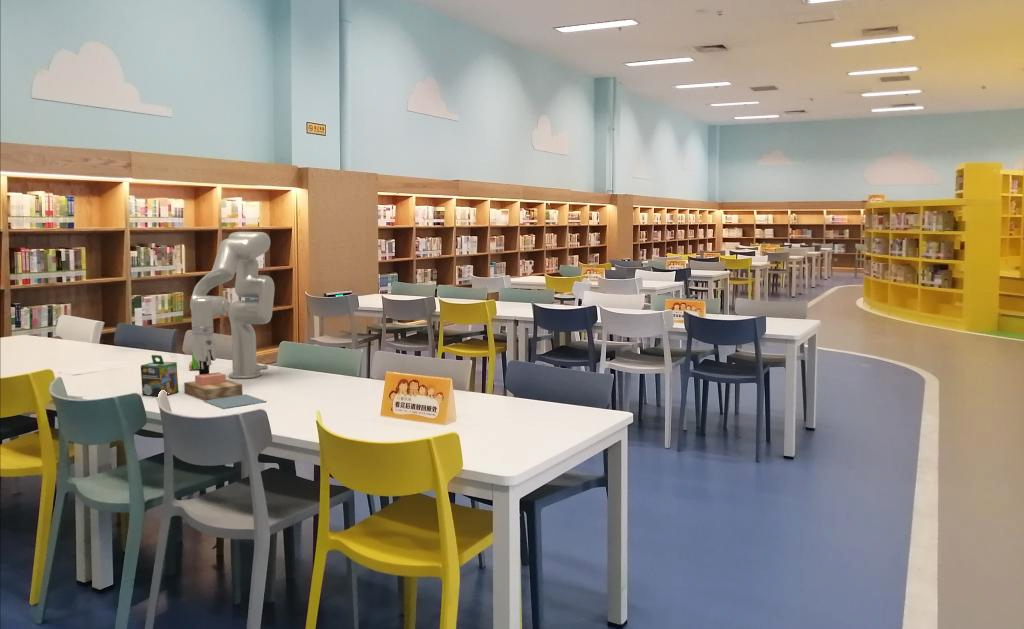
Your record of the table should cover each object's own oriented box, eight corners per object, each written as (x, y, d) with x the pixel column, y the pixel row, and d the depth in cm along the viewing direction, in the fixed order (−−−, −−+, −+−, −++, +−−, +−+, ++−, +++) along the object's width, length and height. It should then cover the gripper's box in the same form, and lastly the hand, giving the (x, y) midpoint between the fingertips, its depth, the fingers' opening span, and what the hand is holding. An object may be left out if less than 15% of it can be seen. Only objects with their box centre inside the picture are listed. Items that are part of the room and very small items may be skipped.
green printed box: (179, 392, 299) (177, 353, 298) (161, 397, 291) (159, 357, 289) (159, 390, 302) (157, 352, 301) (141, 395, 294) (139, 355, 292)
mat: (245, 395, 295) (245, 394, 295) (266, 402, 284) (266, 401, 284) (203, 401, 284) (203, 400, 284) (223, 409, 273) (223, 408, 273)
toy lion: (201, 370, 343) (200, 336, 341) (188, 371, 342) (187, 336, 341) (211, 364, 359) (210, 331, 357) (198, 364, 358) (197, 331, 356)
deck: (220, 387, 308) (220, 377, 307) (242, 395, 295) (242, 384, 295) (184, 393, 298) (184, 382, 297) (205, 400, 285) (205, 389, 285)
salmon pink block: (218, 380, 303) (218, 372, 302) (225, 382, 298) (225, 374, 298) (195, 383, 296) (195, 375, 296) (202, 385, 292) (202, 377, 292)
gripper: (221, 332, 296) (222, 380, 298) (204, 328, 307) (205, 375, 309) (201, 333, 291) (203, 383, 293) (184, 329, 301) (186, 377, 303)
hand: (204, 378), depth 301 cm, fingers closed
